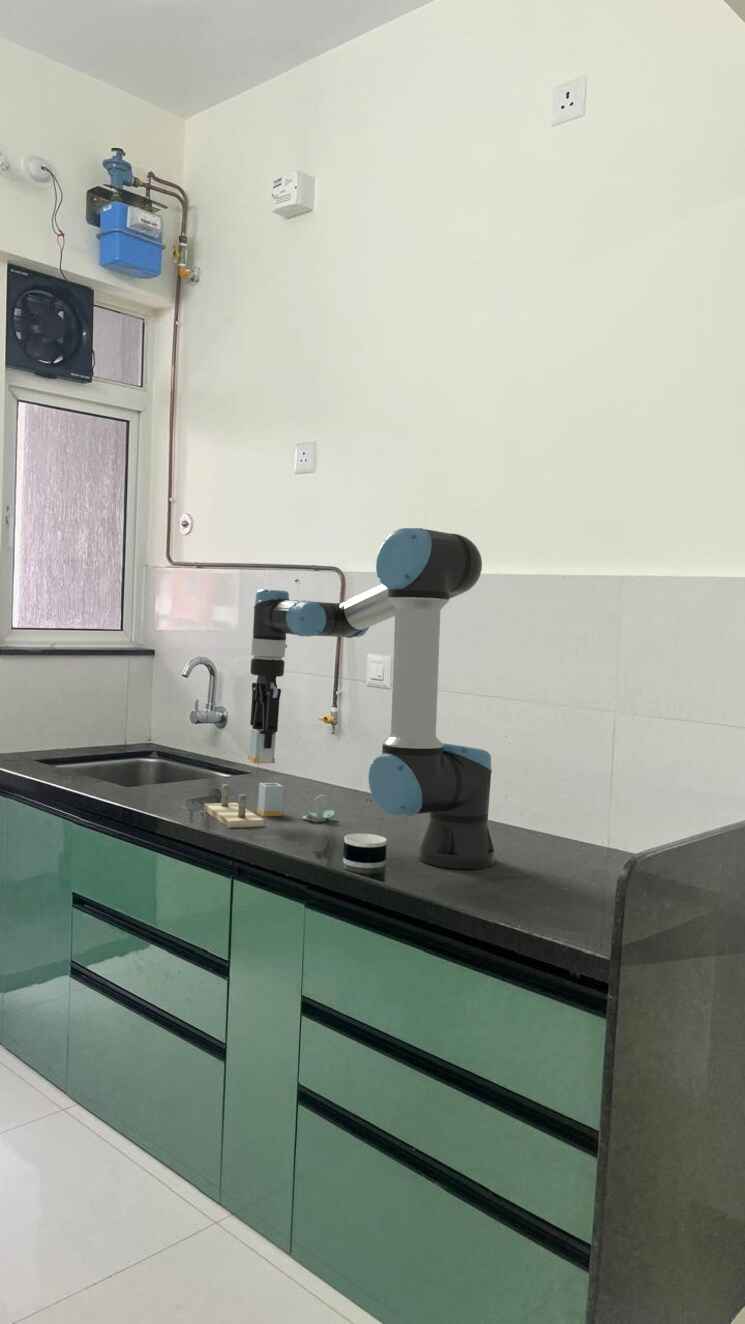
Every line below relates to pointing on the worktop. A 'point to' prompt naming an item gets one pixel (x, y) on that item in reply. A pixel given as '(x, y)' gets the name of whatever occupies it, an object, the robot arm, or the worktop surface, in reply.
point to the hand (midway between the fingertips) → (261, 760)
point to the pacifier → (319, 811)
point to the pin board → (233, 812)
